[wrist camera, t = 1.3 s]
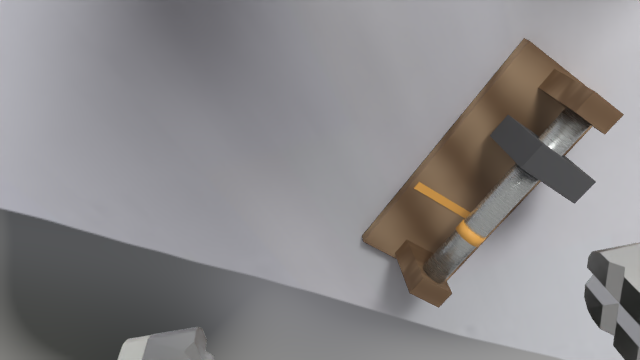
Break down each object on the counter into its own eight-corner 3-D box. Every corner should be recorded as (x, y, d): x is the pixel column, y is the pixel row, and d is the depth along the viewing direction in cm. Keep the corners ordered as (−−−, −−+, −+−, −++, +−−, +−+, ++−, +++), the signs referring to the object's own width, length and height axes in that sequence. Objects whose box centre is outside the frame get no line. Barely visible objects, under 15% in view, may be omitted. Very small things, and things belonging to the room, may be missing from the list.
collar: (507, 114, 45) (542, 144, 39) (556, 149, 47) (596, 181, 41) (489, 135, 45) (520, 167, 40) (538, 168, 48) (574, 203, 42)
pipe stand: (524, 38, 44) (567, 60, 38) (604, 102, 47) (656, 132, 41) (362, 236, 52) (375, 281, 46) (441, 277, 56) (463, 325, 50)
